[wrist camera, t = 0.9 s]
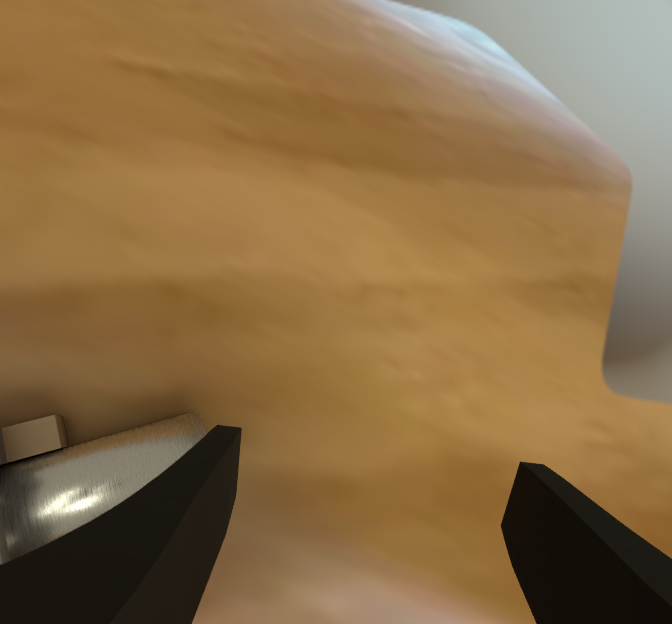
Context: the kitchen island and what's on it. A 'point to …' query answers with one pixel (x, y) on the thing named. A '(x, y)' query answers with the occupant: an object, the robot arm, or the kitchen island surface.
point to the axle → (87, 479)
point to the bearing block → (28, 450)
